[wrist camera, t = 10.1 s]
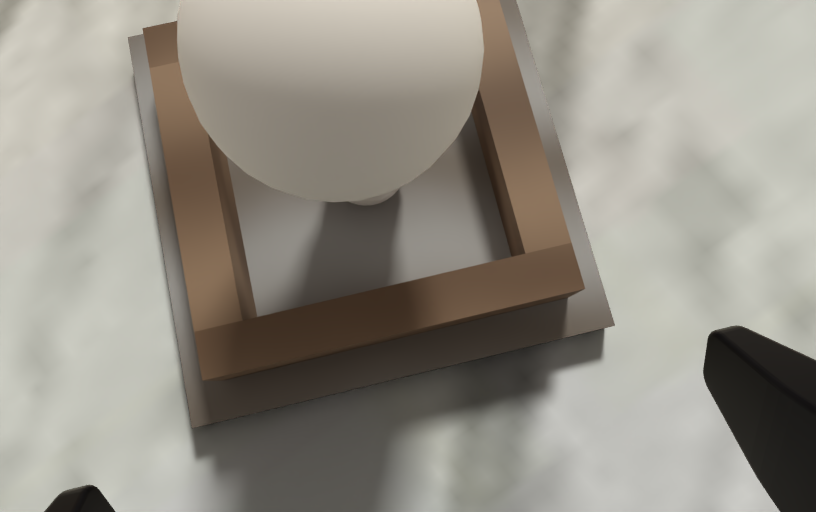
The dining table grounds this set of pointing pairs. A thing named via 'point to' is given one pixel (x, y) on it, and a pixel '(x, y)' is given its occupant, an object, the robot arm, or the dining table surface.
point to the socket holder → (366, 247)
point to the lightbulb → (332, 88)
